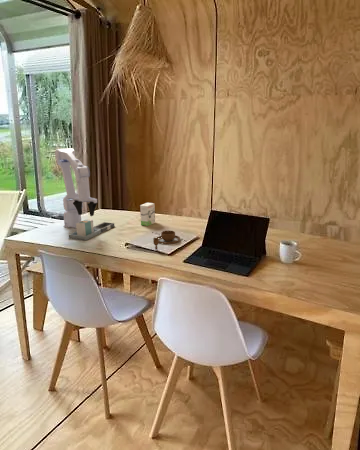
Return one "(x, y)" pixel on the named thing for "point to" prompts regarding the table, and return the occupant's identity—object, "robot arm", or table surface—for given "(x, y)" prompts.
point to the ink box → (147, 214)
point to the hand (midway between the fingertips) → (86, 215)
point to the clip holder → (108, 225)
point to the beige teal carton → (85, 227)
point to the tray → (75, 236)
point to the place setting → (166, 238)
